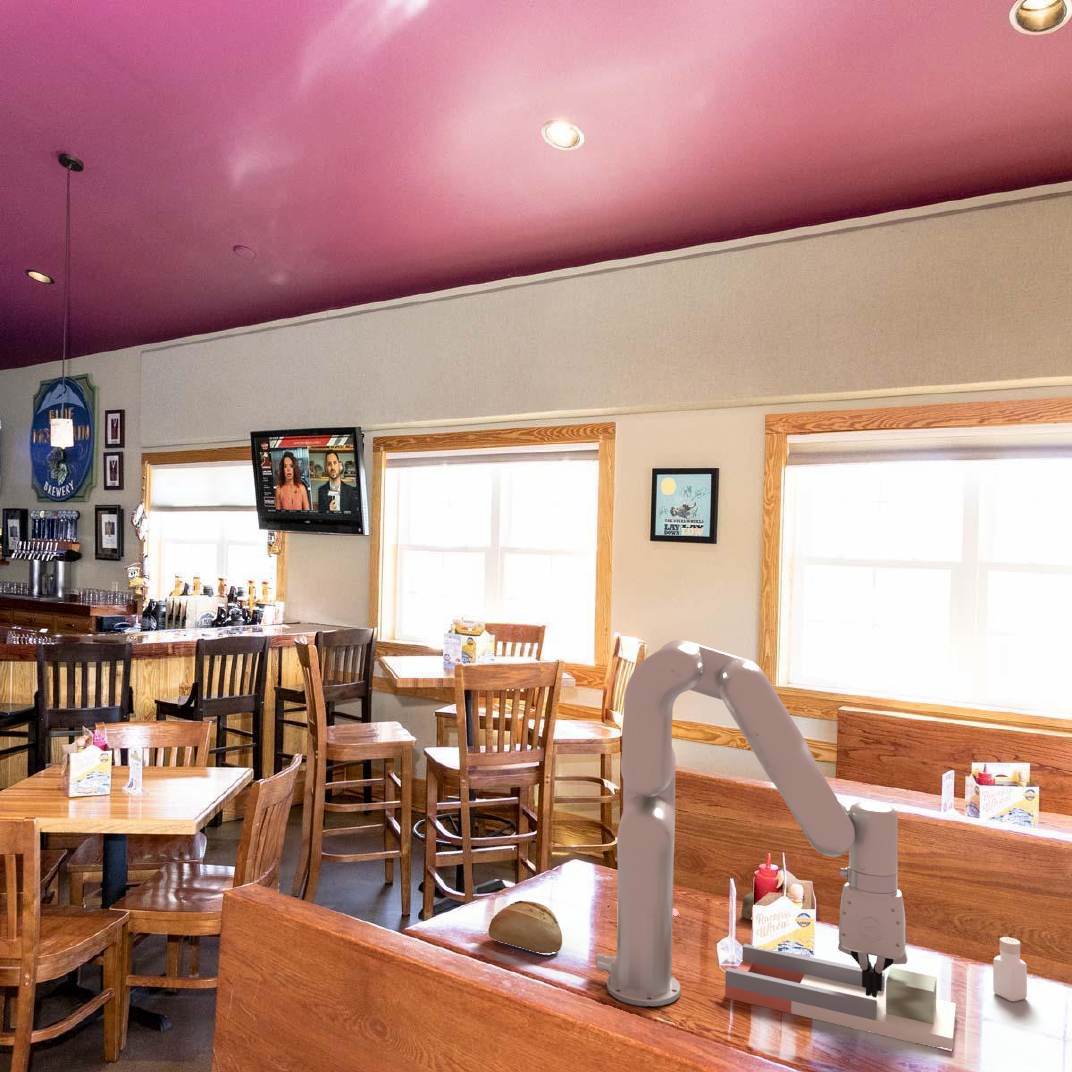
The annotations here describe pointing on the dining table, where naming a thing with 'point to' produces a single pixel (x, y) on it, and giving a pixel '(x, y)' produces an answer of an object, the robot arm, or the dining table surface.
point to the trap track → (829, 996)
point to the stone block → (747, 906)
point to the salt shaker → (1010, 971)
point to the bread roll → (527, 927)
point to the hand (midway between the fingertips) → (872, 993)
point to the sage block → (911, 995)
